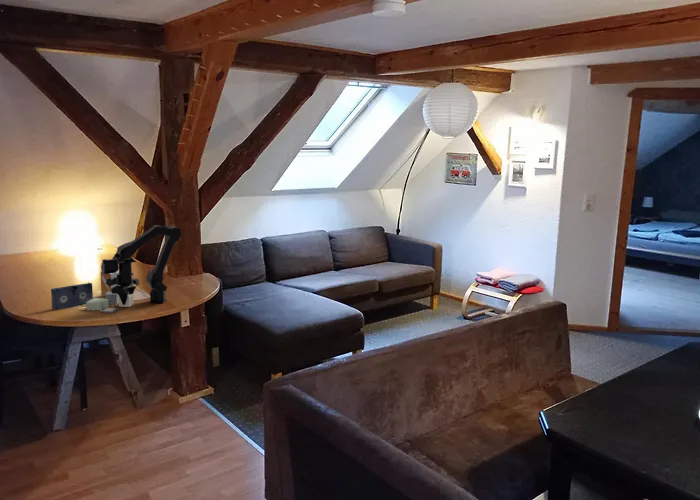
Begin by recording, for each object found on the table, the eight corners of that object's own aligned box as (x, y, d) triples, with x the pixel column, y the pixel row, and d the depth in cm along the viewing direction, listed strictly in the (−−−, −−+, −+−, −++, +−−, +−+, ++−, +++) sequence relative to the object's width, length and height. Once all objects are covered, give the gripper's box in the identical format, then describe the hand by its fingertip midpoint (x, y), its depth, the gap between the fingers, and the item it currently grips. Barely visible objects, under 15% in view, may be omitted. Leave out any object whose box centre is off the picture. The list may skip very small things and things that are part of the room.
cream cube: (133, 303, 269) (133, 294, 268) (129, 306, 264) (129, 296, 263) (123, 303, 269) (123, 293, 268) (119, 306, 264) (118, 296, 263)
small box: (101, 296, 280) (99, 271, 278) (111, 293, 286) (110, 269, 283) (111, 298, 276) (110, 273, 274) (122, 296, 282) (121, 271, 279)
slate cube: (118, 301, 274) (118, 291, 273) (116, 304, 269) (116, 294, 268) (107, 301, 273) (107, 291, 272) (105, 304, 268) (105, 294, 267)
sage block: (108, 307, 264) (108, 299, 263) (100, 311, 257) (100, 303, 257) (94, 306, 265) (94, 298, 264) (86, 310, 258) (86, 302, 257)
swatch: (118, 309, 261) (118, 307, 261) (112, 313, 255) (112, 311, 255) (105, 308, 261) (105, 307, 261) (100, 312, 255) (100, 310, 255)
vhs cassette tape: (91, 301, 270) (90, 282, 268) (93, 303, 268) (93, 283, 267) (51, 309, 257) (50, 288, 255) (54, 310, 255) (52, 289, 253)
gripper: (117, 266, 272) (118, 296, 275) (99, 275, 254) (100, 307, 257) (139, 267, 272) (140, 298, 275) (123, 276, 254) (124, 309, 257)
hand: (126, 303), depth 266 cm, fingers closed on cream cube, 5 cm apart
